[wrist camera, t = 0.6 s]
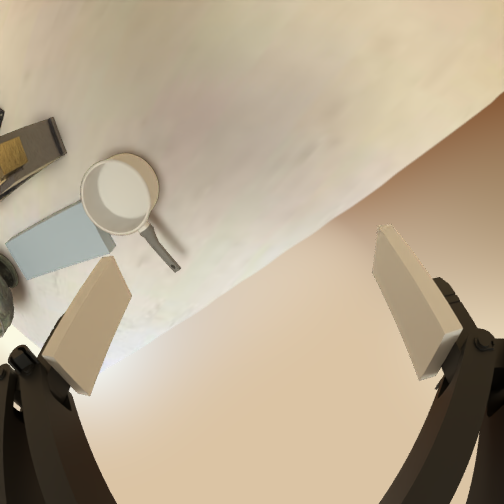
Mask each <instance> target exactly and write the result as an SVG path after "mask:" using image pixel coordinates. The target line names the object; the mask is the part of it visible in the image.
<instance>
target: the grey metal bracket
mask: <svg viewBox="0 0 504 504" xmlns="http://www.w3.org/2000/svg"><path fill="white" fill-rule="evenodd" d="M18 136H19V137H20V140H21V143H22V146H23V149H24V151H25V154H26V157H27V159H28V163H26V164H25V165H24V166H22V167H21V168H20V169H18V170H17V171H16V172H15V173H14V174H13V175H11V176H10V177H9V178H8V179H7V180H6V181H5V182H3V183H2V184H1V185H0V202H1V201H2V200H3V199H4V198H5V197H7V196H8V195H9V194H10V193H11V192H13V191H14V190H15V189H16V188H18V187H19V186H20V185H22V184H23V183H24V182H26V181H27V180H28V179H30V178H31V177H32V176H34V175H35V174H36V173H38V172H39V171H41V170H42V169H43V168H45V167H46V166H48V165H49V164H51V163H52V162H54V161H55V160H57V159H58V158H60V157H61V156H63V155H65V154H66V153H67V152H66V150H65V147H64V145H63V142H62V139H61V137H60V134H59V131H58V129H57V126H56V123H55V120H54V117H51V118H49V119H47V120H44V121H41V122H38V123H35V124H32V125H29V126H26V127H23V128H21V129H18V130H15V131H13V132H10V133H7V134H5V135H3V136H0V144H1V143H4V142H6V141H8V140H10V139H13V138H15V137H18Z"/></svg>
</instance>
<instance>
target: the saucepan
mask: <svg viewBox="0 0 504 504" xmlns="http://www.w3.org/2000/svg"><path fill="white" fill-rule="evenodd" d="M158 194H159V185H158V180H157V177H156V175H155V172H154V171H153V169H152V168H151V166H150V165H149V164H148V163H147V162H146V161H144V160H143V159H142V158H140V157H138V156H136V155H133V154H128V153H125V154H118V155H115V156H113V157H111V158H109V159H106V160H102V161H99V162H97V163H95V164H94V165H93V166H91V167H90V168H89V169H88V171H87V172H86V173H85V175H84V177H83V180H82V183H81V191H80V195H81V202H82V205H83V208H84V210H85V212H86V214H87V216H88V217H89V218H90V220H91V221H92V222H93V223H94V224H95V225H96V226H97V227H98V228H100V229H101V230H103V231H105V232H107V233H109V234H113V235H120V236H123V235H129V234H132V233H135V232H136V231H138V232H139V233H140V235H141V236H143V237H144V238H145V239H146V240H147V242H148V243H149V244H150V245H151V247H152V248H153V249H154V250H155V251H156V252H157V253H158V255H159V256H160V257H161V258H162V259H163V260H164V261H165V262H166V264H167V265H168V266H169V267H170V268H171V269H172V270H173V271H174V272H177V271H179V270H180V269H181V267H180V266H179V265H178V264H177V263H176V261H175V260H174V259H173V258H172V257H171V256H170V254H169V253H168V252H167V251H166V250H165V249H164V247H163V246H162V245H161V244H160V243H159V241H158V239H157V237H156V234H155V231H154V227H153V226H152V225H151V224H149V223H148V222H147V220H148V217H149V214H150V212H151V210H152V209H153V207H154V206H155V204H156V202H157V199H158Z"/></svg>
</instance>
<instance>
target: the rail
mask: <svg viewBox="0 0 504 504" xmlns="http://www.w3.org/2000/svg"><path fill="white" fill-rule="evenodd" d="M26 163H28V159H27V157H26V154H25V151H24V149H23V146H22V143H21V140H20V137H19V136H18V137H15V138H13V139H10V140H8V141H6V142H4V143H1V144H0V185H1V184H2V183H3V182H5V181H6V180H7V179H8V178H9V177H10V176H11V175H13V174H14V173H15V172H16V171H17V170H18V169H20V168H21V167H22V166H24V165H25V164H26Z"/></svg>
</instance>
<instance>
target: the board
mask: <svg viewBox="0 0 504 504" xmlns="http://www.w3.org/2000/svg"><path fill="white" fill-rule="evenodd" d="M5 245H6V247H7V248H8V250H9V252H10V254H11V255H12V257H13V259H14V260H15V262H16V264H17V265H18V267H19V268H20V270H21V272H22V273H23V275H24V276H25V278H26V279H27V280H29V279H32V278H35V277H38V276H41V275H44V274H47V273H50V272H53V271H56V270H59V269H62V268H65V267H68V266H71V265H74V264H77V263H81V262H84V261H87V260H90V259H93V258H96V257H100V256H103V255H106V254H109V253H111V251H112V250H113V248H114V247H115V246H116V245H115V243H114V242H113V240H112V238H111V236H110V234H109V233H107V232H105V231H103V230H101V229H100V228H98V227H97V226H96V225H95V224H94V223H93V222H92V221H91V220H90V218H89V217H88V216H87V214H86V212H85V210H84V208H83V205H82V202H81V200H80V201H78V202H76V203H74V204H72V205H70V206H68V207H66V208H64V209H62V210H60V211H58V212H56V213H54V214H53V215H51V216H49V217H47V218H45V219H43V220H42V221H40V222H38V223H36V224H34V225H33V226H31V227H29V228H27V229H26V230H24V231H22V232H21V233H19V234H17V235H16V236H14V237H12V238H11V239H10V240H9V241H8V242H7V243H6V244H5Z"/></svg>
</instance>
